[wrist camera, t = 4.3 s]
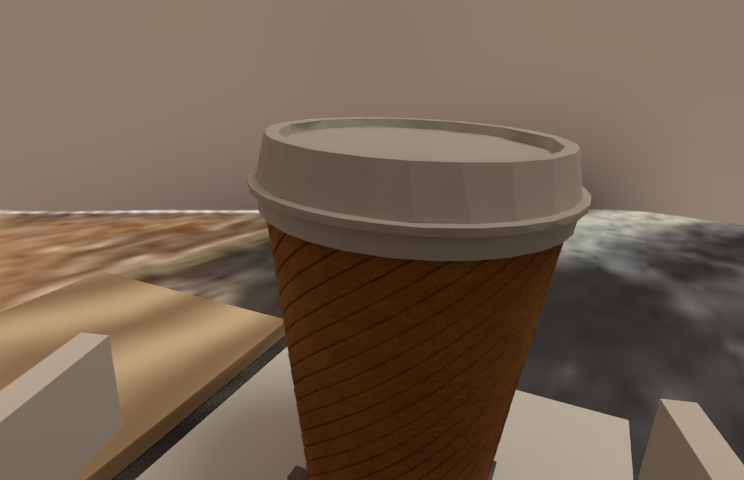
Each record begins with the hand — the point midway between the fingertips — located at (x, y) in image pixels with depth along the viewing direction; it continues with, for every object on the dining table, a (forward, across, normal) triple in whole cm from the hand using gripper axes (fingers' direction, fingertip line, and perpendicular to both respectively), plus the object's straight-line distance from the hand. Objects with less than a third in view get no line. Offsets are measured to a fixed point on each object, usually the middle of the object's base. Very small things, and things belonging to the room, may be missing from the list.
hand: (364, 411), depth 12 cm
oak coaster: (+9, -15, -6) cm, 18 cm away
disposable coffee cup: (+4, +1, -6) cm, 8 cm away
